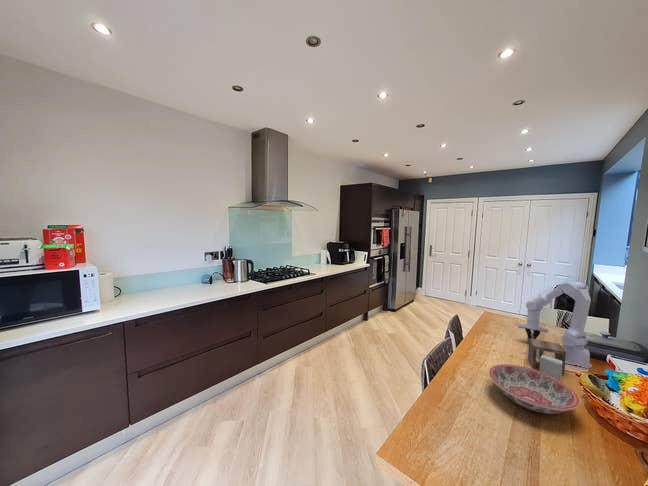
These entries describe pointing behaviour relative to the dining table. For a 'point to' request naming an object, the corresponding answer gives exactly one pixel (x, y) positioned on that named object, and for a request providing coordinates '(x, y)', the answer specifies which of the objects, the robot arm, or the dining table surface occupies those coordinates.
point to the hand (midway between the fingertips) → (531, 341)
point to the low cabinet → (545, 346)
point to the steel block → (539, 352)
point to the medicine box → (551, 367)
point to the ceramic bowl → (534, 389)
